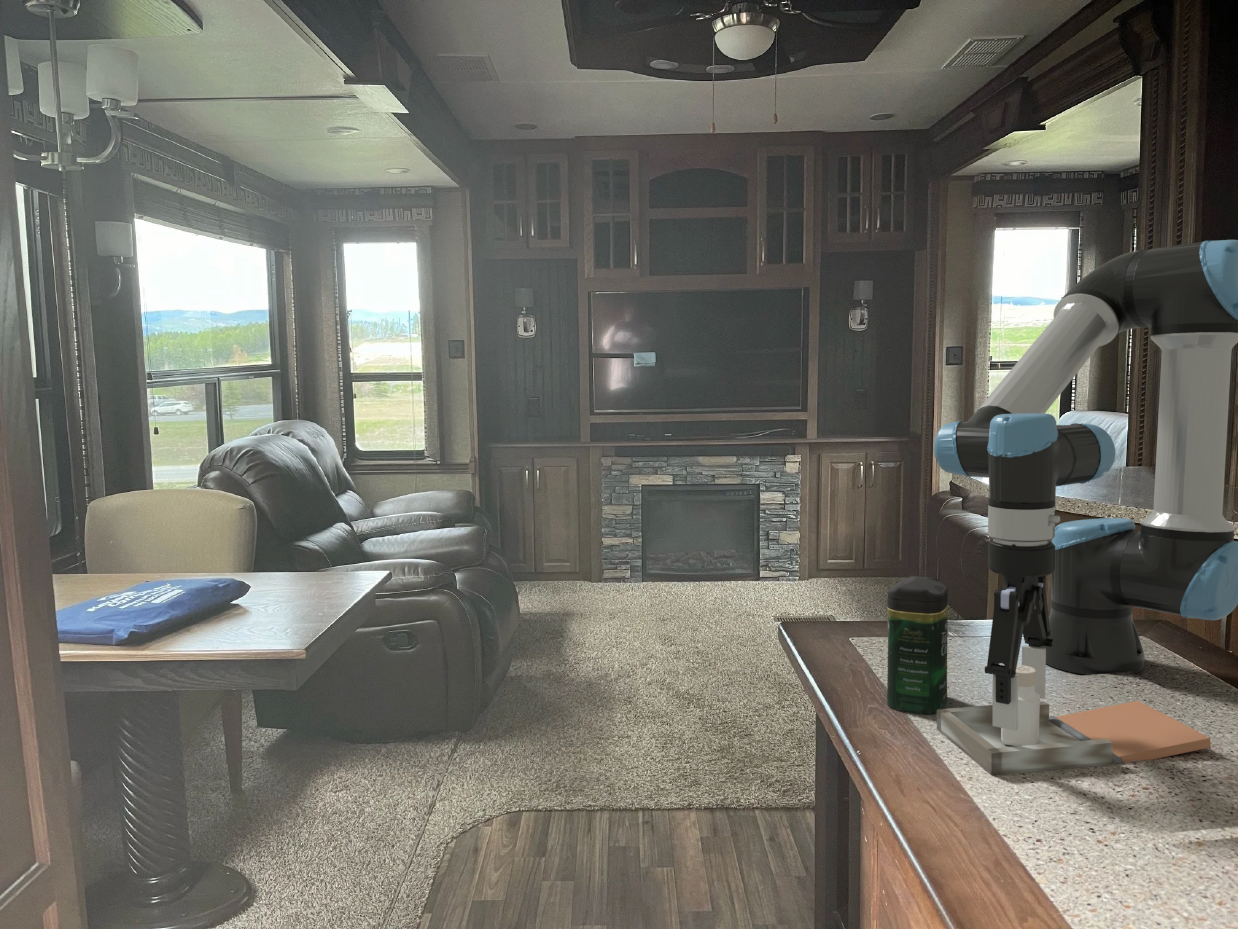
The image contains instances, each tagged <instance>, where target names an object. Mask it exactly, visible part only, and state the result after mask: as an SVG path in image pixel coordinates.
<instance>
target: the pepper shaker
mask: <svg viewBox="0 0 1238 929" xmlns="http://www.w3.org/2000/svg"><path fill="white" fill-rule="evenodd" d="M1016 675H1018V729H1017V731H1015V730H1010V729H1005V728H1001V740H1002V742H1003V743H1004V744H1006V745H1012V746H1026V745H1036V744H1037V741H1038V738H1039V714H1040V701H1041V698H1040V695H1039V694H1037V693H1035V686H1036V681H1035V680H1036V670H1035V669H1034V668H1032V667H1029V666H1024V665H1022V664H1017V668H1016Z"/></svg>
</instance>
